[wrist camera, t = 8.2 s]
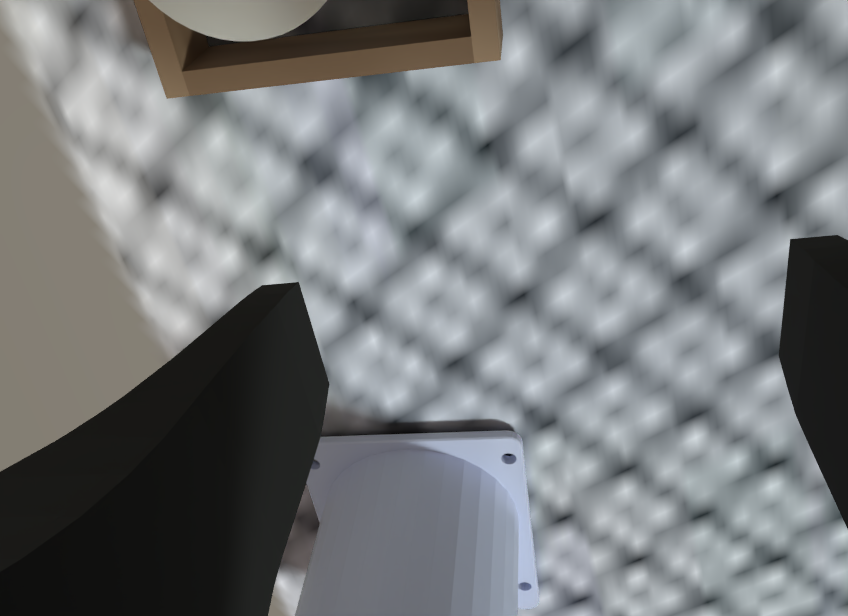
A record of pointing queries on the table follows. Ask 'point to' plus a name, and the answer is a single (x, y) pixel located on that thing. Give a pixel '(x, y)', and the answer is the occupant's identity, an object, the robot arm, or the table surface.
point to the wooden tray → (317, 51)
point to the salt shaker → (240, 16)
